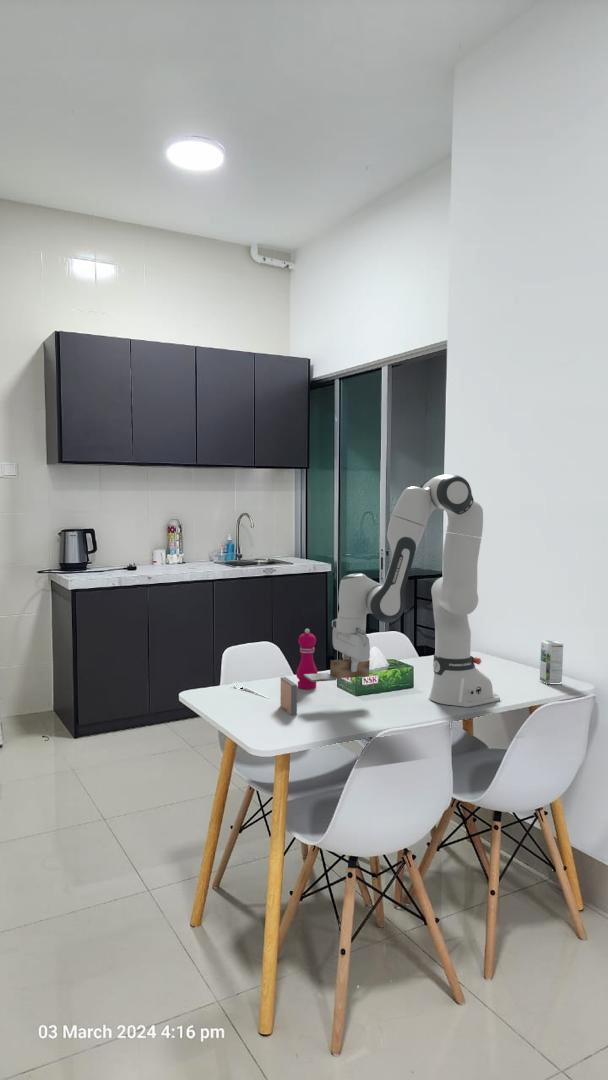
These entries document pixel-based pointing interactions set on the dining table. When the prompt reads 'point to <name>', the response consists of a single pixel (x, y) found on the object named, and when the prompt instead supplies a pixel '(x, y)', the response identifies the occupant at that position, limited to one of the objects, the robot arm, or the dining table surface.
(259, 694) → the fork
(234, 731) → the dining table surface
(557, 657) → the syrup box
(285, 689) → the tile
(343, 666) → the wood block on plate
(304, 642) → the pepper mill
